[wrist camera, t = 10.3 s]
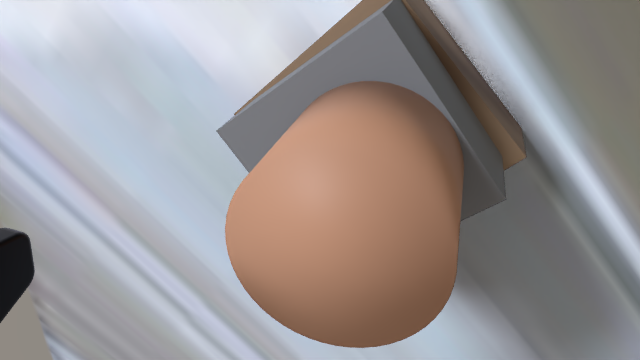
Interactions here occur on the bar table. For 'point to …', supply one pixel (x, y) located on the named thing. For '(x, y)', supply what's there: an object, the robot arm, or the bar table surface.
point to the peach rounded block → (353, 218)
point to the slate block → (384, 66)
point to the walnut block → (455, 62)
